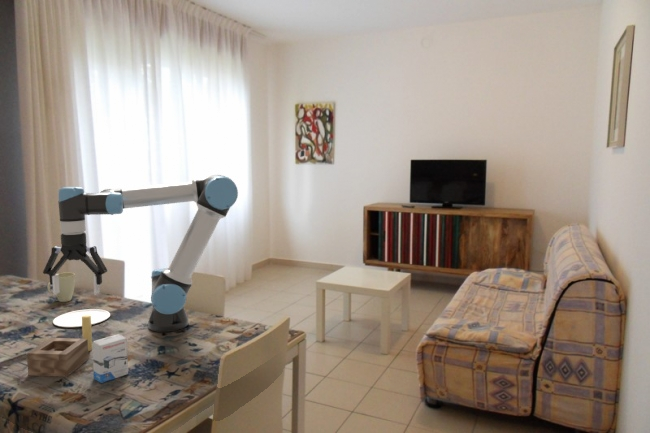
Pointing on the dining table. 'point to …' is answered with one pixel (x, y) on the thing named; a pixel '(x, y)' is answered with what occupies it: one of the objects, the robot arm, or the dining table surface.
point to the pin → (87, 330)
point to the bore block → (57, 357)
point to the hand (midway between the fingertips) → (76, 293)
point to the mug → (65, 286)
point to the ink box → (110, 358)
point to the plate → (80, 318)
